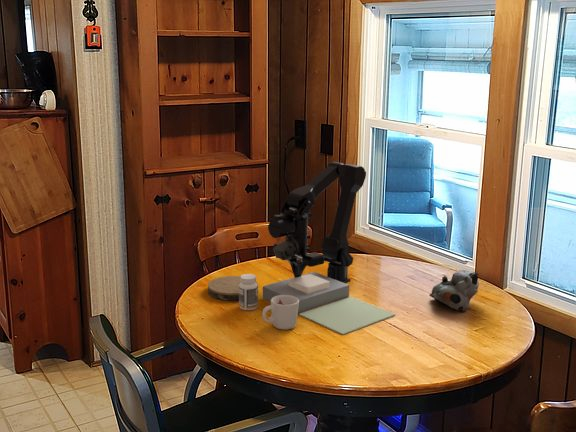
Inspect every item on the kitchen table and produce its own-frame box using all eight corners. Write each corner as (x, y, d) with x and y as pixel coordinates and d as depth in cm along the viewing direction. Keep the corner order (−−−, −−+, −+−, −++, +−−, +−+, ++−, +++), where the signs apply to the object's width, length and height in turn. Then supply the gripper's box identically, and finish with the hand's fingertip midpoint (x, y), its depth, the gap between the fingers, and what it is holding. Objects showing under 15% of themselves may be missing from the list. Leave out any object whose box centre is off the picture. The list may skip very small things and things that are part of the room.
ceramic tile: (309, 279, 222) (310, 273, 221) (329, 287, 215) (329, 281, 215) (288, 285, 216) (288, 279, 216) (307, 294, 210) (308, 287, 209)
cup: (268, 336, 190) (269, 308, 188) (256, 325, 196) (256, 298, 194) (303, 329, 194) (304, 302, 192) (290, 318, 201) (290, 293, 199)
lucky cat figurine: (429, 295, 222) (450, 257, 220) (463, 314, 219) (485, 276, 218) (426, 298, 207) (450, 257, 206) (463, 319, 204) (487, 278, 203)
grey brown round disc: (259, 285, 229) (259, 276, 228) (255, 303, 213) (256, 294, 212) (211, 283, 229) (211, 275, 228) (204, 301, 214) (204, 292, 213)
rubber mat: (351, 297, 218) (351, 296, 218) (395, 315, 205) (395, 314, 205) (299, 315, 204) (299, 313, 204) (343, 335, 191) (343, 333, 191)
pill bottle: (259, 304, 212) (259, 273, 209) (256, 311, 206) (256, 280, 204) (240, 303, 212) (240, 272, 210) (237, 310, 207) (237, 279, 204)
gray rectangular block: (314, 283, 230) (314, 271, 229) (348, 296, 219) (349, 285, 218) (262, 298, 216) (262, 286, 215) (296, 314, 205) (297, 301, 204)
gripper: (259, 229, 217) (258, 276, 221) (298, 243, 204) (297, 293, 208) (286, 224, 224) (285, 269, 228) (326, 237, 211) (324, 285, 215)
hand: (297, 279), depth 219 cm, fingers closed
